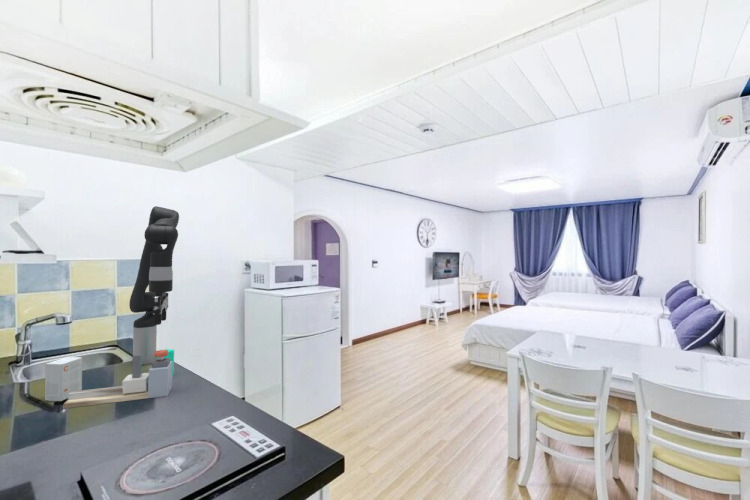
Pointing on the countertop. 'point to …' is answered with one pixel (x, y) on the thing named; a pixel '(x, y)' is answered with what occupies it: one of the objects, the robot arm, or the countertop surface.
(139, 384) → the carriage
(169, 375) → the push button housing
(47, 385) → the small box
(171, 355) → the candle
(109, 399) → the rail
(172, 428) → the countertop surface
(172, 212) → the robot arm
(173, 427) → the countertop surface
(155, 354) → the button
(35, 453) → the countertop surface
